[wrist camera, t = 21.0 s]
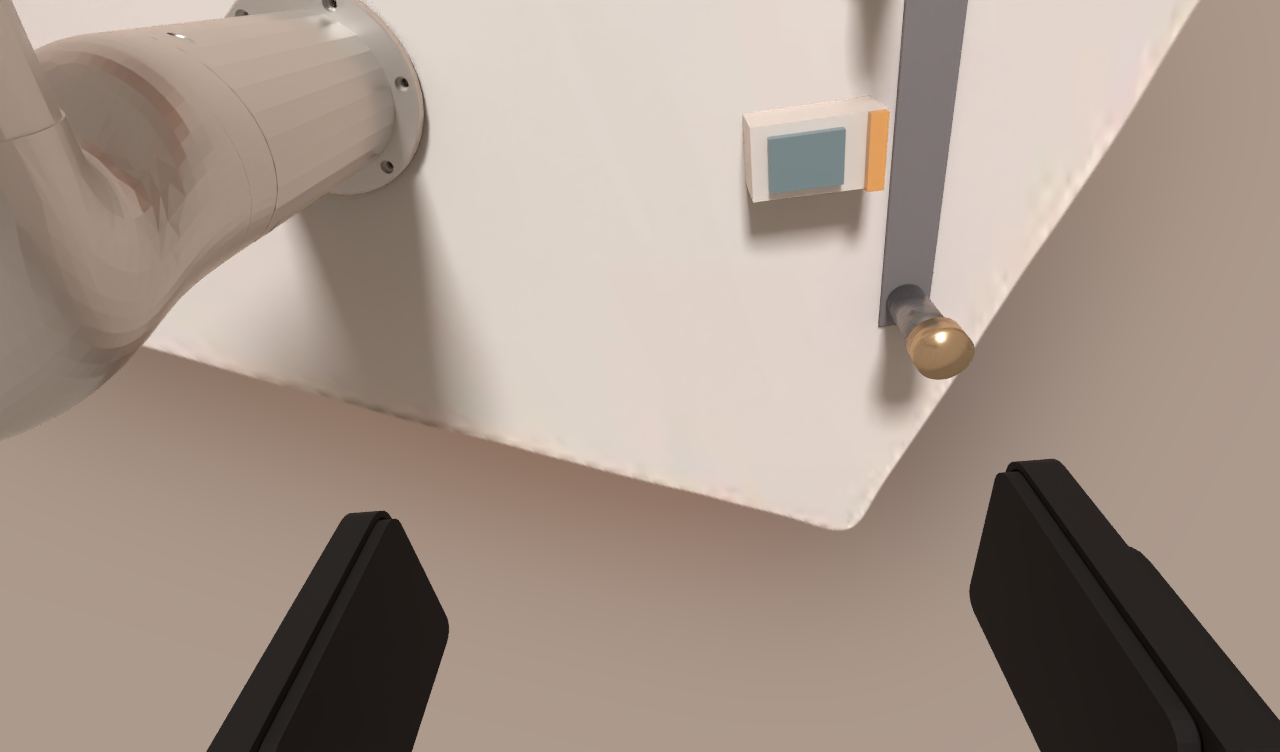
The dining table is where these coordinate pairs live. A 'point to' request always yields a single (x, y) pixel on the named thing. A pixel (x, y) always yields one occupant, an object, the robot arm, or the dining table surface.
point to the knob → (929, 334)
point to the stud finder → (816, 148)
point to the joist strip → (921, 141)
